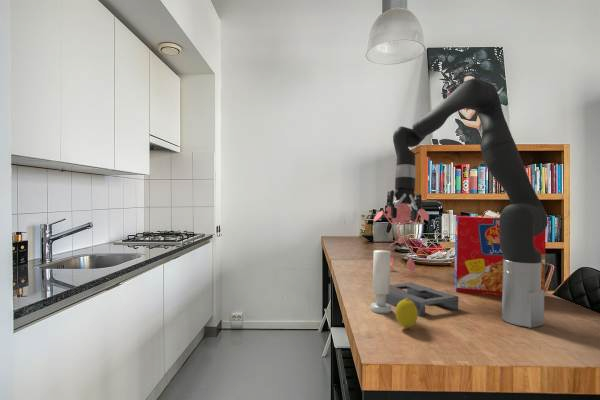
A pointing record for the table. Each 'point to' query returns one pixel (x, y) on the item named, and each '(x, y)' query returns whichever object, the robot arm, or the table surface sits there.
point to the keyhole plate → (420, 297)
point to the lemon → (406, 313)
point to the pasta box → (483, 255)
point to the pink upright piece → (402, 217)
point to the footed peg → (381, 281)
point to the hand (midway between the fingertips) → (403, 219)
